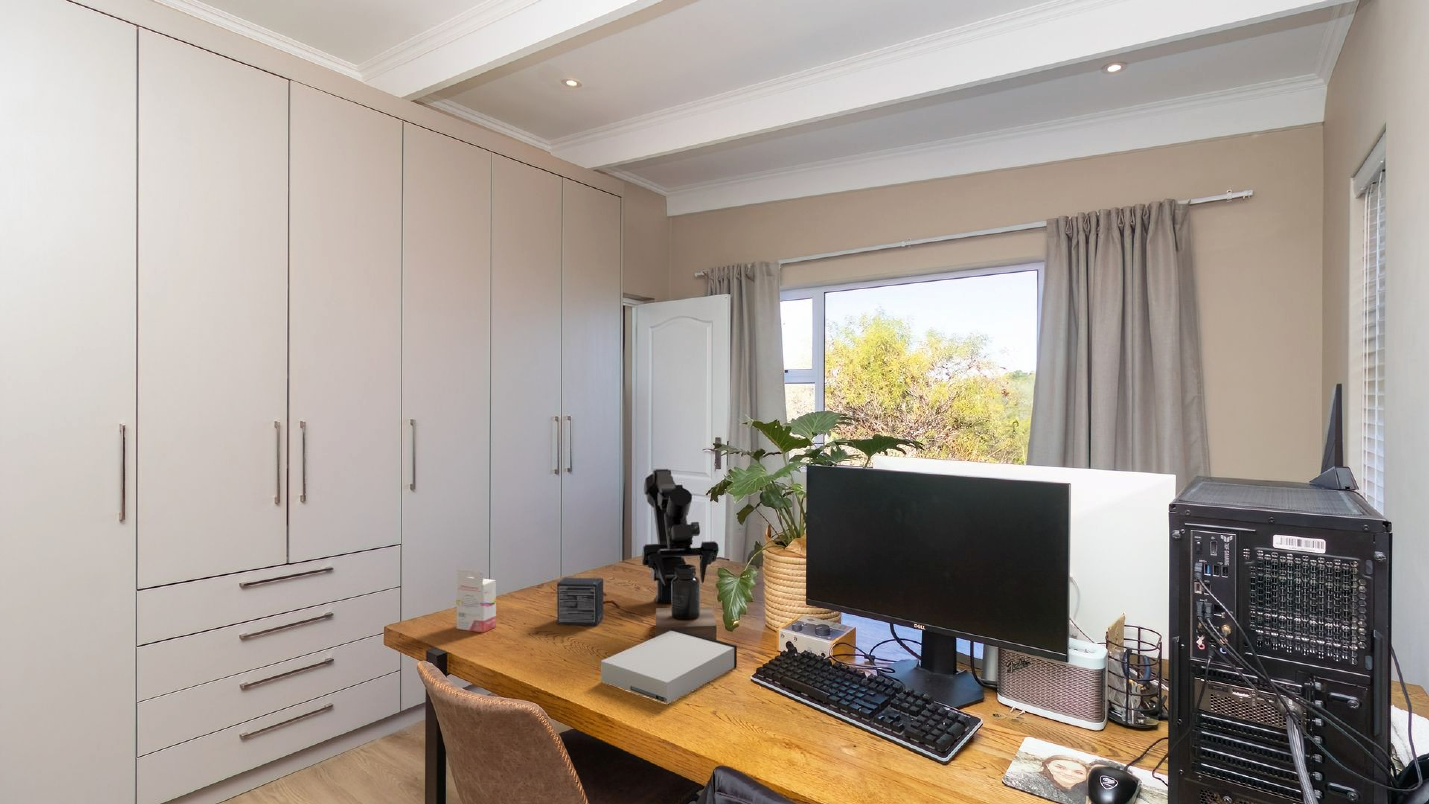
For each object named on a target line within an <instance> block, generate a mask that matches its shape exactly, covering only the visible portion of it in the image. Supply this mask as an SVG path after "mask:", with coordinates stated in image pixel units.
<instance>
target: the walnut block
mask: <svg viewBox="0 0 1429 804" xmlns="http://www.w3.org/2000/svg"><path fill="white" fill-rule="evenodd" d="M670 629H676V630H680V631H684V632H687V633H691V634H695V635H699V636H703V637H706V638H710V639H714V640H718V639H717V629H718V627H717V622H716V618H715V614H714V610H713V607H712V606H705V607H703V606H702V607H701V606H700V615H699V617H698V618H697V619H694V620H688V621H682V620H676V619H674V618H673V617H672V614H671V607H663V608H660V607H659V608H658V607H657V608H656V609H655V637H657V636H660V635H662V634H664V633H667V632H669V631H670Z"/></svg>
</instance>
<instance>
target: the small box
mask: <svg viewBox="0 0 1429 804" xmlns="http://www.w3.org/2000/svg"><path fill="white" fill-rule="evenodd" d="M556 588H557V590H556V591H557V592H556V595H557V597H556V598H557V600H556V601H557V607H556V608H557V609H556V613H557V619H556V621H557V622H556V625H557V624H564V625H563V626H565V624H567V625H566V626H591V625H595V626H599V624H600V623H601V621H602V620H603V619H604V617H605V616H604V604H603V602H604V595H603V592H604V578H603V577H601V578H599V577H597V578H596V577H595V578H593V577H564V578H562V579H561V580H560V581H558V582H557V583H556ZM568 624H570V625H568ZM571 624H572V625H571ZM575 624H576V625H575ZM595 626H594V627H595Z"/></svg>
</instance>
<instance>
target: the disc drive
mask: <svg viewBox="0 0 1429 804" xmlns="http://www.w3.org/2000/svg"><path fill="white" fill-rule="evenodd" d="M737 654H738V645H736V644H732V643H728V642H724V641H721V640H718V639H717V640H714V639H710V638H706V637H703V636H699V635H695V634H691V633H687V632H684V631H680V630H676V629H670V631H669V632H667V633H664V634H662V635H660V636H657V637H656V636H655V637H653V638H651V639H648V640H646V641H644V642H642V643H639V644H636V645H634V646H632V647H630V648H627V649H625V650H622V651H621V652H619V653H616V654H613V655H611V656H610V657H609V656H608V657H607V658H605V659H602V660H600V683H601V682H604V683H606V684H605V685H607V684H611V685H612V686H615V687H620V688H622V689H624V690H629V691H631V692H633V693H637V694H639V695H641V696H646V697H649V698H651V699H655V700H657V701H660V702H664V703H666V704H668V703H670V702H673V701H674V700H676V699H678V698H680V697H681V696H683V697H685V696H686V694H687V693H688V694H690V693H692V692H693V691H692V690H694V691H696V690H697V689H699V688H700V686H701V687H702V685H703V684H704V685H706V684H707V682H708V683H710V682H711V681H713V680H715V679H717V678H718V677H720V676H722V675H723V674H725V673H727V672H728V671H730V670H732V669H735V668H737V667H738V663H737V662H738V661H737V659H738V657H737V656H738V655H737ZM709 681H710V682H709ZM604 683H603V684H604ZM705 683H706V684H705ZM704 685H703V686H704ZM612 686H611V687H612ZM615 687H614V688H615ZM698 687H699V688H698ZM696 688H697V689H696ZM624 690H623V691H624ZM691 691H692V692H691ZM689 692H690V693H689ZM633 693H632V694H633ZM688 694H687V695H688ZM684 695H685V696H684ZM641 696H640V697H641ZM681 698H682V697H681ZM681 698H680V699H681ZM678 700H679V699H678ZM676 701H677V700H676ZM674 702H675V701H674ZM674 702H673V703H674Z"/></svg>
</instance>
